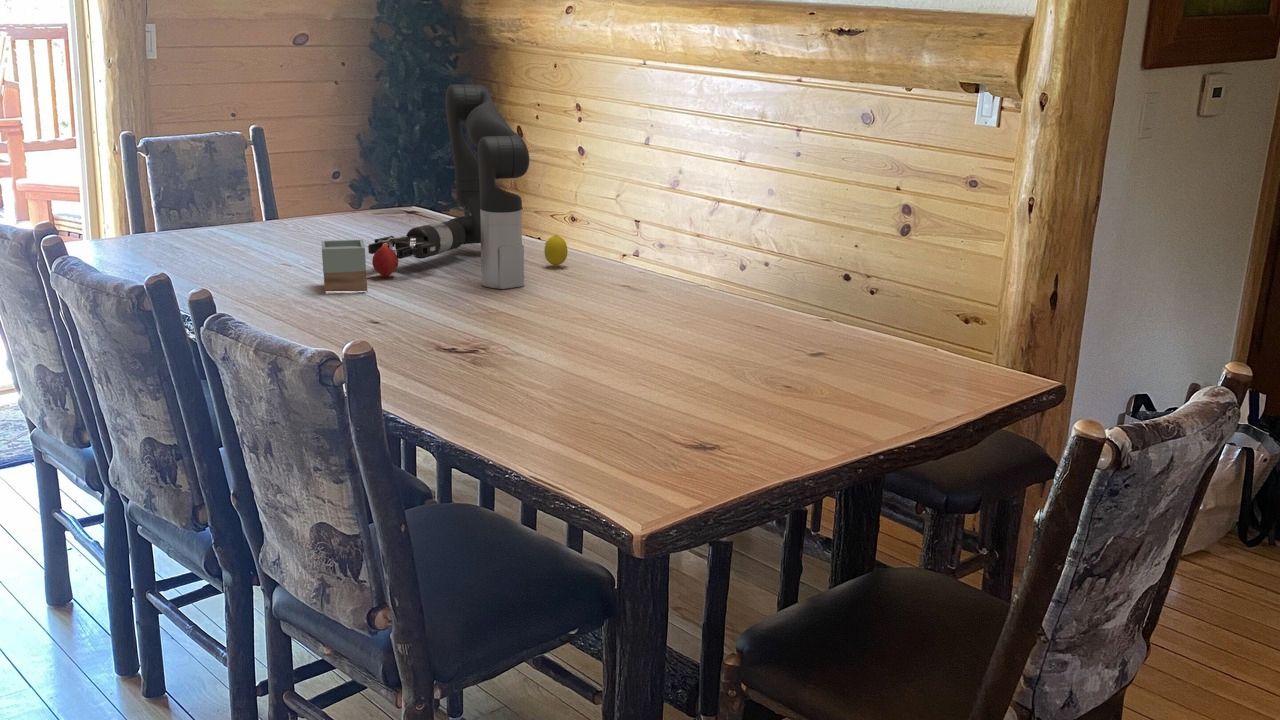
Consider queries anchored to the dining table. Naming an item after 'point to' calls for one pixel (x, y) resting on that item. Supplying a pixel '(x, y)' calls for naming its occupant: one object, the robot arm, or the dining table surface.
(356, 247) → the tower top
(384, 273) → the onion
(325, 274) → the tower base
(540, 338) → the dining table surface
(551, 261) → the lemon
